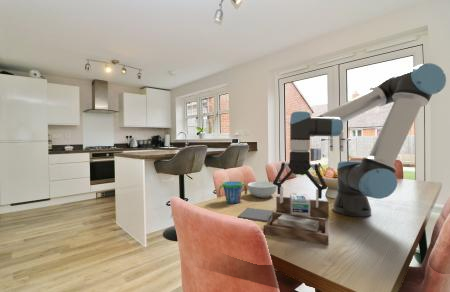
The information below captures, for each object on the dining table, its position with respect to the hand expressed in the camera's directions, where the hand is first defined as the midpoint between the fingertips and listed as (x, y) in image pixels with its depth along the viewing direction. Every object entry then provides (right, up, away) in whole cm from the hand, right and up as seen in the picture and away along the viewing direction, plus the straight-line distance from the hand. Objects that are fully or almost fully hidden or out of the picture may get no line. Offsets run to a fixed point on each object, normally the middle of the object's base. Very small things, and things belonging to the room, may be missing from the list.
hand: (298, 204), depth 91 cm
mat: (-15, -7, +10) cm, 20 cm away
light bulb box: (+1, -8, 0) cm, 8 cm away
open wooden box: (-1, -8, -4) cm, 9 cm away
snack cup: (-25, -7, +31) cm, 40 cm away
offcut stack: (-4, -8, -10) cm, 13 cm away
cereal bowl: (-8, -6, +43) cm, 44 cm away
